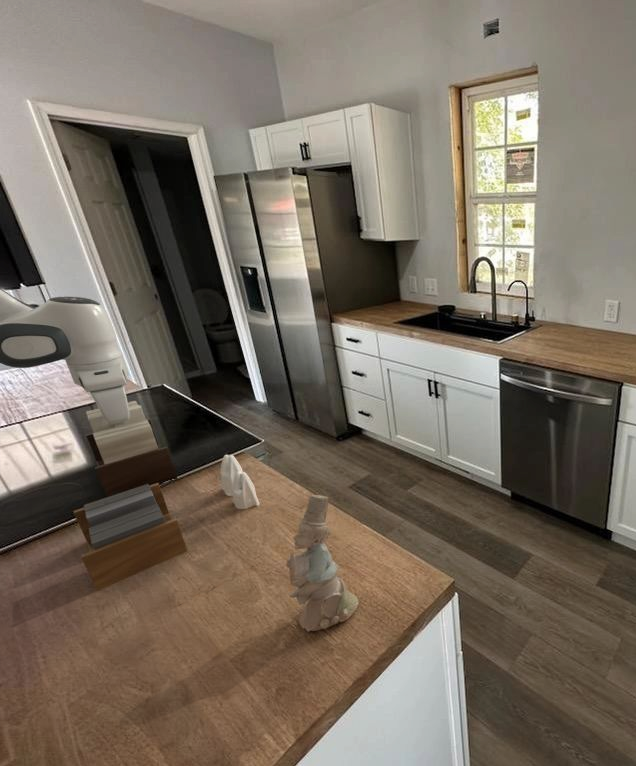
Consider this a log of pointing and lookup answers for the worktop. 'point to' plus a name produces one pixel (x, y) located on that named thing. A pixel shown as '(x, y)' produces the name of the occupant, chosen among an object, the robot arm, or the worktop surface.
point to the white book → (101, 424)
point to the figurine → (318, 572)
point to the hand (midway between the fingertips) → (120, 427)
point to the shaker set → (237, 484)
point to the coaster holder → (128, 534)
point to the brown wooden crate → (129, 456)
